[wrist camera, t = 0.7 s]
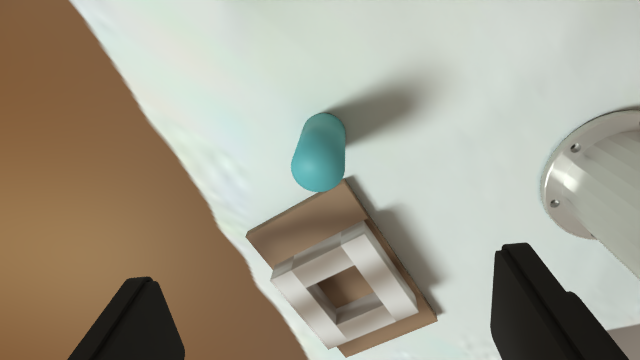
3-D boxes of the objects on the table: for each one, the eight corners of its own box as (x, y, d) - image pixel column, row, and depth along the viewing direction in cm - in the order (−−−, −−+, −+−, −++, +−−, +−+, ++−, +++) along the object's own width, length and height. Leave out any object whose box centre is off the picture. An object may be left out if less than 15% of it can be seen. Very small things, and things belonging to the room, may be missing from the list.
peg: (354, 129, 36) (355, 162, 28) (329, 161, 37) (324, 201, 30) (318, 104, 35) (310, 132, 28) (294, 139, 36) (281, 173, 29)
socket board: (435, 314, 44) (442, 338, 41) (345, 350, 48) (345, 375, 44) (344, 178, 38) (343, 194, 35) (247, 231, 41) (239, 251, 38)
